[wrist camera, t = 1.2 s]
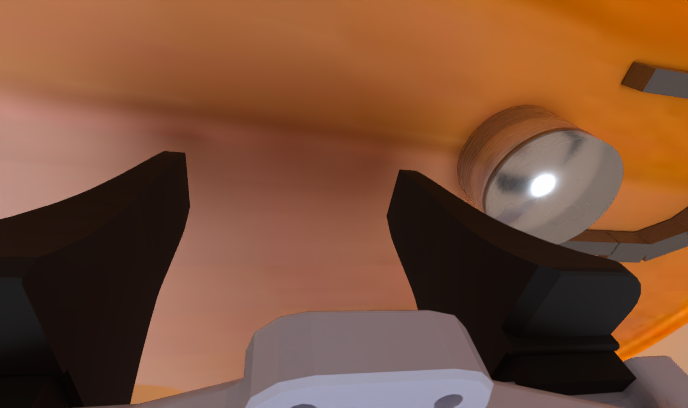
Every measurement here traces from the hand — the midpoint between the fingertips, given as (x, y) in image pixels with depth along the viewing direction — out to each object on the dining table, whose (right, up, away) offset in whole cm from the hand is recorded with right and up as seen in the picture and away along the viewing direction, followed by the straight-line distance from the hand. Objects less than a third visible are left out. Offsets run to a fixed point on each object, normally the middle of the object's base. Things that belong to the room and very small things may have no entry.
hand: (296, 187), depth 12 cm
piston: (+10, +2, +6) cm, 12 cm away
